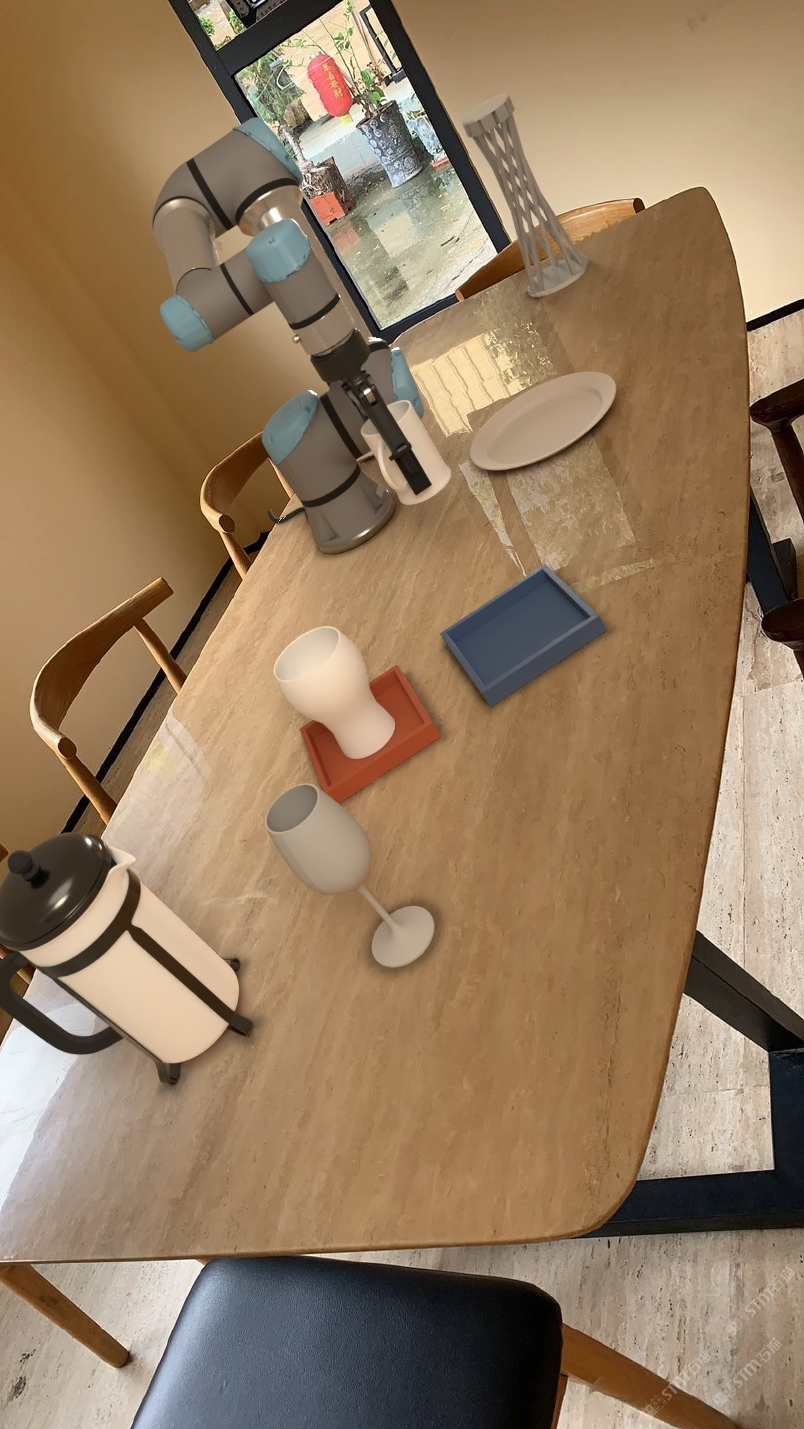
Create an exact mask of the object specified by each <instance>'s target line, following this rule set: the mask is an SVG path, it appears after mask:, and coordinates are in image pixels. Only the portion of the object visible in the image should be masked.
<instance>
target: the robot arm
mask: <svg viewBox="0 0 804 1429" xmlns="http://www.w3.org/2000/svg"><path fill="white" fill-rule="evenodd" d="M304 179H305V177H304V174H303V172H302V170H301V169H300V167H299V165H298V164H297V162H296V161H295V160H294V158H293V157H292V155H291V154H290V153H289V151H288V149H287V147H286V146H285V145H284V143H283V142H282V141H281V140H280V138H279V136H278V135H277V134H276V132H274V130H273V129H272V128H271V127H270V125H269V124H268V122H266V121H265V120H264V119H262V118H260V117H251V118H249V119H248V120H246V121H244V122H243V123H241V124H239V125H238V126H236V125H235V126H233V127H232V130H231V131H229V132H228V133H227V134H225V135H223V136H222V137H221V138H219V139H218V140H216V141H215V142H213V143H212V144H210V145H209V146H207V147H206V148H205V149H203V150H202V151H200V152H198V153H197V154H196V155H194V156H193V157H191V158H190V159H188V160H186V161H184V162H183V163H182V164H180V165H179V166H178V167H177V168H175V170H174V171H173V172H172V173H171V174H170V176H169V177H168V178H167V180H166V181H165V183H164V184H163V186H162V188H161V190H160V192H159V194H158V196H157V198H156V202H155V204H154V207H153V211H152V218H151V226H152V232H153V237H154V240H155V241H154V242H155V243H156V245H157V247H158V248H159V250H160V251H161V252H162V254H164V256H165V259H166V263H167V267H168V271H169V276H170V279H171V284H172V287H173V292H174V293H173V294H172V293H171V295H170V296H169V298H167V299H166V300H165V301H163V302H162V303H161V305H160V306H159V314H160V316H161V319H162V321H163V323H164V324H165V326H166V328H167V330H168V332H169V333H170V334H171V336H172V337H173V338H174V340H175V342H176V343H177V344H178V345H179V346H180V348H182V350H184V352H187V353H195V352H197V351H199V350H201V349H203V348H204V347H206V346H207V345H212V344H213V343H215V341H216V340H218V339H219V338H221V337H222V336H224V335H225V334H227V333H228V332H230V331H231V330H233V329H234V328H236V327H238V326H239V325H240V324H242V323H243V322H245V321H246V320H248V319H250V318H251V317H252V316H254V315H255V314H257V313H259V312H260V311H262V310H264V309H265V308H267V307H268V306H269V305H271V304H273V303H274V304H275V305H276V307H277V308H278V311H280V313H281V315H282V316H283V318H284V319H285V321H286V322H287V325H288V327H289V328H290V330H291V331H292V332H293V333H294V334H295V335H293V337H292V339H291V340H292V342H293V344H295V345H297V344H299V343H300V346H301V347H302V349H303V350H304V352H305V354H306V355H308V356H310V357H309V358H310V359H309V360H310V363H311V364H312V366H313V368H314V369H315V371H316V372H317V374H318V376H319V377H320V379H321V380H322V382H324V383H326V384H327V386H328V388H329V389H327V391H325V392H323V393H322V394H320V395H319V396H318V394H317V393H316V392H314V391H313V390H309V389H308V390H304V391H302V392H301V393H297V394H296V395H294V396H293V397H291V398H290V399H288V400H287V401H286V402H284V404H282V405H281V407H279V408H278V409H277V410H276V411H275V412H274V413H273V415H272V416H271V417H270V418H269V419H268V421H267V423H266V424H265V426H264V428H263V430H262V433H261V442H262V445H263V447H264V449H265V451H266V452H267V454H268V455H269V457H270V460H271V462H272V464H273V465H275V466H276V468H277V469H278V471H279V472H280V474H281V475H282V477H283V478H284V479H285V482H286V483H287V484H288V485H289V487H290V488H291V490H292V492H293V493H294V494H295V496H296V497H297V498H298V500H299V502H300V503H301V505H302V506H299V507H298V508H296V509H293V510H292V511H291V512H289V513H287V514H286V515H285V516H286V517H285V518H284V516H282V517H276V516H275V514H274V511H273V509H272V508H269V509H268V510H267V514H268V518H269V519H270V520H271V521H272V522H273V523H274V524H283V523H285V522H287V521H290V520H291V519H293V518H294V517H296V516H297V515H299V514H301V513H304V517H305V519H307V520H308V523H309V527H310V531H311V535H312V537H313V541H314V543H315V544H316V546H317V547H318V548H319V550H320V551H321V552H322V553H324V554H328V555H335V554H341V553H345V552H347V551H350V550H352V549H355V548H356V547H358V546H360V545H362V544H364V543H365V542H367V541H368V540H370V539H371V538H373V537H374V536H375V535H376V534H378V533H379V532H380V531H381V530H382V529H383V528H384V527H385V526H386V525H387V524H388V522H389V521H390V520H391V518H392V516H393V515H394V513H395V510H396V501H395V500H394V498H393V496H392V495H391V493H390V491H389V490H388V489H387V488H386V487H384V486H383V485H382V484H380V483H379V482H378V481H377V480H376V479H374V478H373V477H372V476H371V475H369V474H368V473H367V472H366V471H364V469H362V468H363V467H362V466H361V465H360V464H359V462H357V459H358V458H360V457H362V456H363V455H365V454H367V453H369V452H370V451H371V449H370V448H369V446H368V444H367V443H366V441H365V439H364V438H363V436H362V434H361V428H362V426H363V425H364V423H365V422H366V421H367V420H368V419H370V420H371V422H372V423H373V425H374V426H375V428H376V429H377V431H378V432H379V434H380V436H381V437H382V439H383V440H384V442H385V443H386V445H387V446H388V448H389V449H390V451H391V454H392V455H391V456H390V457H389V460H390V461H392V460H395V462H396V464H397V465H398V467H399V469H400V470H401V472H402V474H403V476H404V477H405V479H406V481H407V482H408V484H409V486H410V487H411V489H412V491H413V492H414V494H415V495H418V494H419V493H421V492H422V491H424V490H425V489H427V488H428V487H430V486H431V485H432V484H431V482H430V480H429V478H428V477H427V475H426V473H425V471H424V470H423V468H422V466H421V465H420V463H419V461H418V459H417V458H416V456H415V454H414V453H413V451H412V446H411V443H410V442H408V440H407V438H406V437H405V435H404V434H403V432H402V430H401V429H400V427H399V425H398V424H397V422H396V421H395V419H394V417H393V416H392V414H391V412H390V411H389V409H388V407H387V405H389V404H392V403H394V402H397V401H402V400H407V401H409V402H410V403H411V404H412V406H413V408H414V410H415V411H416V413H417V415H418V417H419V418H420V420H422V418H423V417H424V415H425V405H424V402H423V398H422V396H421V394H420V392H419V389H418V387H417V384H416V381H415V379H414V376H413V374H412V371H411V369H410V367H409V365H408V362H407V359H406V357H405V355H404V353H403V350H402V349H401V347H393V348H391V347H390V346H389V344H388V342H387V340H385V339H382V338H376V337H374V336H373V335H372V333H371V331H370V330H369V328H368V326H367V324H366V322H365V321H364V319H363V317H362V315H361V314H360V312H359V309H358V308H357V306H356V305H355V303H354V301H353V299H352V298H351V296H350V294H349V291H347V289H346V287H345V285H344V283H343V281H342V280H341V278H340V276H339V274H338V273H337V271H336V269H335V268H334V266H333V264H332V262H331V260H330V258H329V257H328V255H327V253H326V251H325V249H324V247H323V246H322V244H321V242H320V240H319V239H318V237H317V235H316V234H315V231H314V230H313V228H312V226H311V224H310V223H309V221H308V219H307V217H306V215H305V214H304V212H303V210H302V208H301V206H302V204H303V199H304V192H303V190H302V189H301V187H300V186H301V185H302V183H303V181H304ZM235 227H238V229H239V230H240V232H241V233H242V234H243V235H245V236H249V237H253V238H252V239H250V242H249V243H248V244H247V246H246V247H244V248H243V249H241V250H239V251H238V252H237V253H235V254H234V255H233V256H231V257H229V258H228V259H226V260H225V261H223V262H222V263H221V260H220V257H219V254H218V251H217V249H216V246H215V240H217V239H218V238H220V237H221V236H222V235H224V234H225V233H226V232H227V233H228V232H229V231H231V230H232V229H233V228H235ZM280 518H282V519H281V520H280ZM283 518H284V519H283ZM279 520H280V521H279ZM278 522H279V523H278Z"/></svg>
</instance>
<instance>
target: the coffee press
mask: <svg viewBox="0 0 804 1429" xmlns="http://www.w3.org/2000/svg"><path fill="white" fill-rule="evenodd" d="M136 863H137V858H136V857H135V856H134V855H132V854H131V853H128V852H126V851H123V850H121V849H119V848H116V847H115V846H111V845H110V844H107V843H106V842H105V841H104V839H102V838H101V837H100V836H98V835H95V834H91V833H81V832H76V831H69V832H63V833H59V834H56V835H53V836H50V837H48V838H46V839H44V840H42V841H41V842H39V843H37V844H36V845H34V846H32V847H31V848H30V849H29V850H28V851H26V850H23V849H18V850H15V851H13V852H12V853H10V854H9V856H8V858H7V868H8V869H9V870H8V872H7V873H6V874H5V876H4V878H3V879H2V880H1V881H0V882H1V883H0V944H2V946H4V947H5V948H6V949H8V950H10V951H12V953H8V954H6V955H5V956H4V957H2V958H1V960H0V1008H1V1009H2V1010H3V1011H4V1012H6V1013H7V1014H8V1015H9V1016H10V1017H11V1018H12V1019H14V1020H15V1021H17V1022H18V1023H19V1024H20V1025H22V1026H24V1027H25V1029H27V1030H28V1031H30V1032H31V1033H32V1034H34V1035H36V1036H37V1037H38V1038H40V1039H41V1040H43V1041H44V1042H45V1043H47V1044H48V1045H50V1046H51V1047H53V1048H55V1049H56V1050H58V1051H60V1052H63V1053H66V1054H70V1055H76V1056H83V1055H84V1056H85V1055H91V1054H95V1053H98V1052H101V1051H104V1050H106V1049H107V1048H109V1047H112V1046H113V1045H115V1044H117V1043H118V1042H120V1041H121V1040H123V1039H125V1040H126V1041H127V1042H129V1043H130V1044H131V1045H132V1046H134V1048H136V1049H138V1051H140V1052H141V1053H143V1054H144V1055H145V1056H147V1057H148V1058H149V1059H150V1060H152V1061H153V1063H154V1065H155V1066H156V1070H157V1075H158V1079H159V1082H160V1083H161V1084H164V1085H168V1086H176V1084H177V1083H178V1082H179V1079H180V1063H182V1062H183V1063H184V1062H186V1061H189V1060H192V1059H194V1058H195V1057H198V1056H200V1055H202V1054H203V1053H204V1052H205V1051H207V1050H208V1049H209V1048H210V1047H211V1046H213V1045H214V1044H215V1043H216V1042H217V1041H218V1039H220V1037H221V1036H222V1035H223V1033H224V1032H225V1031H226V1030H230V1031H232V1032H233V1033H235V1034H238V1035H239V1036H242V1037H245V1038H248V1037H249V1035H250V1033H251V1032H252V1029H253V1027H254V1026H255V1023H254V1022H253V1021H251V1020H249V1019H248V1018H246V1017H244V1016H243V1015H241V1014H239V1013H238V1012H236V1010H237V1006H238V1003H239V996H240V985H239V980H238V977H237V974H236V973H237V972H238V971H239V970H240V967H241V963H240V959H239V958H237V957H231V956H221V955H220V954H218V952H216V950H214V948H212V947H211V946H210V945H208V944H207V943H206V941H204V939H202V938H201V937H200V936H199V935H198V934H197V933H196V932H195V931H193V929H192V928H190V927H189V925H188V924H187V923H185V922H184V921H183V920H182V919H181V918H180V917H179V916H178V915H177V914H175V913H174V911H172V910H171V909H170V908H169V907H168V906H167V905H166V904H165V903H164V902H162V900H161V899H160V898H159V897H157V896H156V895H155V894H154V893H153V892H152V891H151V889H149V888H148V887H146V885H145V884H144V883H143V882H141V881H140V878H139V877H138V875H137V874H136V872H134V870H132V869H131V868H130V867H132V866H133V865H135V864H136ZM226 961H230V965H229V964H228V963H227V962H226ZM28 963H29V964H30V965H31V966H32V967H33V968H35V969H36V970H37V971H38V972H40V973H41V974H43V975H44V976H45V977H48V978H49V979H51V980H52V981H53V982H54V983H55V984H56V985H57V986H59V987H60V988H61V989H62V990H64V992H66V993H67V994H68V995H70V996H71V997H72V998H73V999H75V1000H76V1001H78V1002H79V1003H80V1004H81V1005H82V1006H84V1007H85V1008H86V1009H88V1010H89V1011H90V1012H91V1013H93V1014H94V1015H95V1016H97V1017H98V1018H99V1019H100V1020H102V1021H103V1022H104V1023H105V1024H107V1026H108V1027H106V1028H104V1029H102V1030H100V1031H99V1032H96V1033H94V1034H90V1035H77V1034H74V1033H71V1032H69V1031H67V1030H66V1029H64V1028H63V1027H62V1026H61V1025H59V1024H58V1023H57V1022H56V1021H54V1020H52V1019H51V1018H50V1017H49V1016H47V1015H46V1014H44V1013H43V1012H42V1011H41V1010H39V1009H38V1008H37V1007H35V1006H34V1005H33V1004H32V1003H30V1002H29V1001H28V1000H26V999H25V998H23V997H22V996H21V995H20V994H19V993H18V992H17V991H16V990H15V989H14V988H13V986H12V983H11V980H12V979H13V977H14V976H15V975H16V974H17V973H18V972H19V971H21V970H22V968H23V966H26V965H27V964H28ZM164 1063H166V1064H169V1075H168V1072H167V1068H166V1065H165V1064H164ZM168 1076H169V1077H168Z"/></svg>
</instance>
